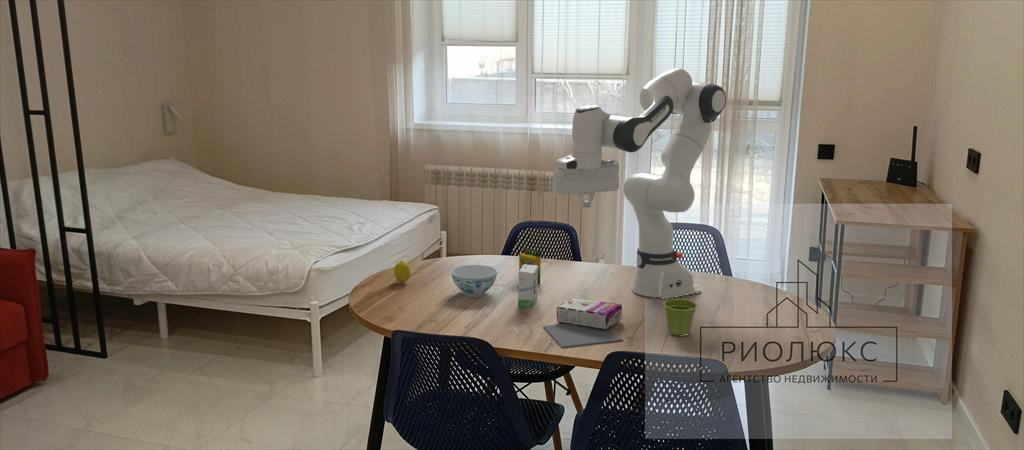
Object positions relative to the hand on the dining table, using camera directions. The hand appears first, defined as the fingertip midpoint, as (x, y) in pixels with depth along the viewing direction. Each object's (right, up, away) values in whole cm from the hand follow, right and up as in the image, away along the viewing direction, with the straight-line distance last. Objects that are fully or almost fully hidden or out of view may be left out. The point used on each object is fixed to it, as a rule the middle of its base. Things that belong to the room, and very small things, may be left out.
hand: (585, 206), depth 231 cm
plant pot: (+26, -37, -9) cm, 46 cm away
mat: (-2, -37, -10) cm, 38 cm away
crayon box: (-16, -26, +36) cm, 47 cm away
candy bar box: (+8, -32, -6) cm, 34 cm away
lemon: (-60, -26, +35) cm, 74 cm away
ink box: (-17, -31, +15) cm, 38 cm away
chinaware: (-34, -28, +24) cm, 51 cm away
